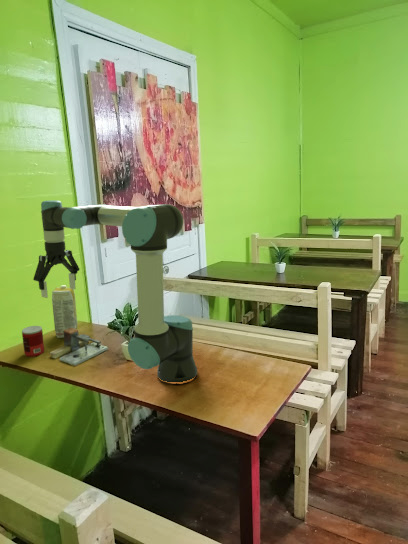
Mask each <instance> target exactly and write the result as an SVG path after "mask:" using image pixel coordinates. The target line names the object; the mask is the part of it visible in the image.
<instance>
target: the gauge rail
mask: <svg viewBox="0 0 408 544" xmlns="http://www.w3.org/2000/svg"><path fill="white" fill-rule="evenodd" d="M78 336H81V337H85V338H88V339H89V341H87V345H88V344H90V342H92V343H93V342H94V343H97V346H99V344H100V345H101V344H102V341H100V340H98V339H95V338H94V339H93V338H91V336H90V335H87V334H85V333H81V334H78ZM79 344H80V348H82V347H84V346H85V341H83V340H80V339H79ZM71 352H72V351H71V347H70V346H68V345H66V346H62V347H59V348H57V349H55V350H52V351H50V352H49V354H50V355H49V356H50V358H52V359H57V358H60V357H62V356H64V355H67V354H69V353H71Z"/></svg>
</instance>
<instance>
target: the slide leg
mask: <svg viewBox="0 0 408 544" xmlns="http://www.w3.org/2000/svg"><path fill="white" fill-rule="evenodd" d="M63 333H64V338H63V342H64V346H66V345H68V346H70V347H71V352H73V351H75V350H78V349H80V348H81V347H80V344H79V339H80V340H83V341H85V345H84V346H85V351H87V345H88V344H87V341H89V339H88V338H85V337H81V336H79V329H78V328H77V329H74V328H69V329H66V330H64V331H63ZM89 342H90V341H89ZM64 346H63V347H64Z"/></svg>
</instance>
